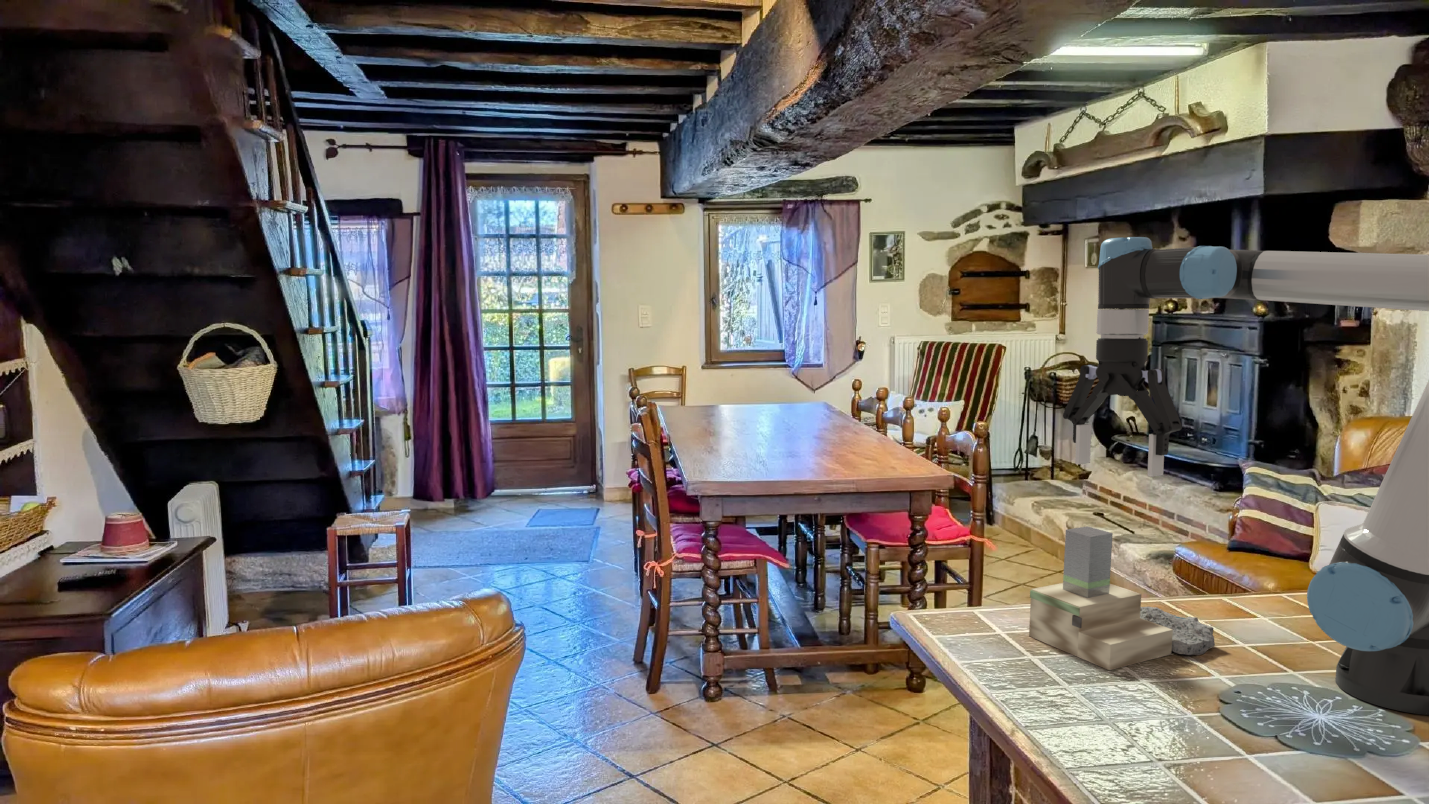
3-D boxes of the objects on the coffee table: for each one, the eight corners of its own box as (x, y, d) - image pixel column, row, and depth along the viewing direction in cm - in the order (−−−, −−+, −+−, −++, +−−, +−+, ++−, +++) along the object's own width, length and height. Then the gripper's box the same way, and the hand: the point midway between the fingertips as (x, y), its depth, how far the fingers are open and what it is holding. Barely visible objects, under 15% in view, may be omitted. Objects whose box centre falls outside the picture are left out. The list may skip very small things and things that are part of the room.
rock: (1223, 652, 153) (1226, 621, 152) (1184, 661, 149) (1187, 629, 148) (1153, 626, 164) (1156, 598, 164) (1115, 634, 160) (1117, 604, 159)
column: (1109, 593, 155) (1112, 533, 154) (1087, 598, 153) (1090, 536, 151) (1084, 585, 159) (1087, 526, 158) (1062, 589, 157) (1065, 529, 156)
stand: (1171, 654, 151) (1174, 604, 150) (1107, 670, 144) (1110, 619, 143) (1088, 622, 165) (1091, 577, 164) (1027, 636, 158) (1029, 589, 157)
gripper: (1211, 338, 143) (1204, 479, 145) (1074, 334, 164) (1070, 456, 166) (1179, 339, 139) (1173, 483, 141) (1043, 335, 161) (1039, 460, 163)
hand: (1117, 469), depth 154 cm, fingers open, 13 cm apart
